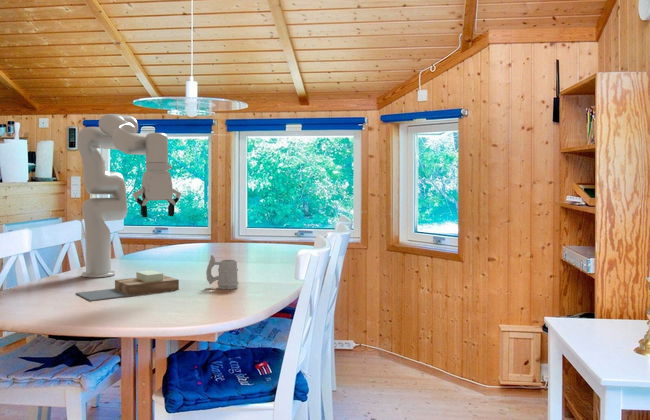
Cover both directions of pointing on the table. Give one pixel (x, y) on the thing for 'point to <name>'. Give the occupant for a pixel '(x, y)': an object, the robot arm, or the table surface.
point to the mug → (223, 273)
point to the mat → (103, 294)
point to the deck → (146, 285)
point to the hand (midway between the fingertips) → (157, 216)
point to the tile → (149, 276)
